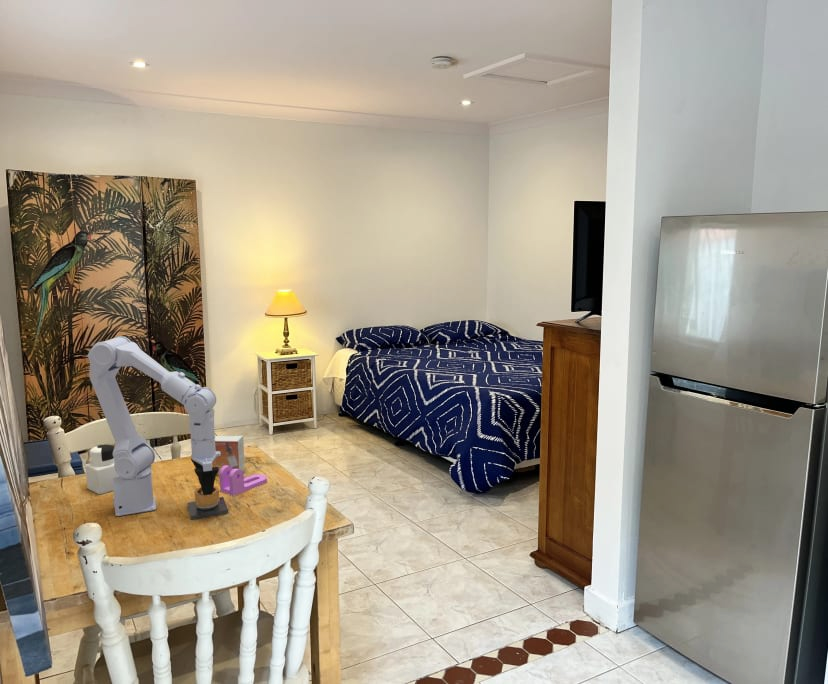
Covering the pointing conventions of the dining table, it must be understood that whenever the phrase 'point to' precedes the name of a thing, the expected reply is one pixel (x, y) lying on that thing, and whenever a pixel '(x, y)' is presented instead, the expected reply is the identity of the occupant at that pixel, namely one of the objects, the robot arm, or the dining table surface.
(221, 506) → the stand
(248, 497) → the dining table surface
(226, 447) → the small box
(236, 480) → the bracket
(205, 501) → the wooden ring
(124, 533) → the dining table surface
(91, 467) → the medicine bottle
